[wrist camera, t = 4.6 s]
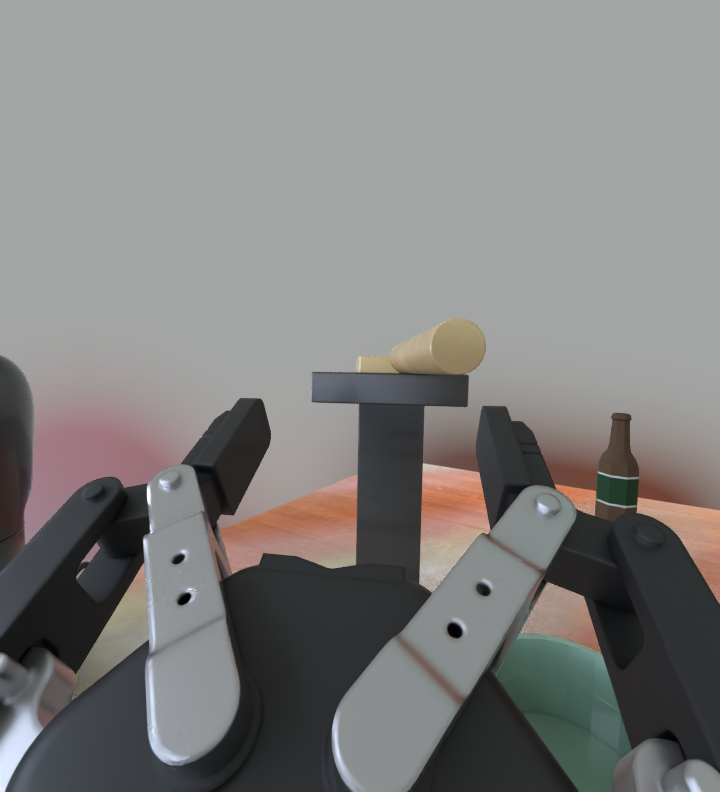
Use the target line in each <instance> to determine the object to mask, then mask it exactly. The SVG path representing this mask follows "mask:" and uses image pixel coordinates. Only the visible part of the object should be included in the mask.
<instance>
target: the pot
mask: <svg viewBox="0 0 720 792" xmlns="http://www.w3.org/2000/svg"><path fill="white" fill-rule="evenodd" d="M496 677H497V678H498V680H499V681H500V682H501V684H502V685H503V687H504V688H505V689H506V691H507V692H508V693H509V695H510V696H511V698H512V699H513V700H514V702H515V703H516V705H517V706H518V707H519V709H520V710H521V712H522V713H523V714H524V716H525V717H526V718H527V720H528V721H529V723H530V724H531V725H532V727H533V728H534V730H535V731H536V732H537V734H538V735H539V736H540V738H541V739H542V741H543V742H544V743H545V745H546V746H547V748H548V749H549V750H550V752H551V753H552V755H553V756H554V757H555V759H556V760H557V761H558V763H559V764H560V766H561V767H562V768H563V770H564V771H565V773H566V774H567V775H568V777H569V778H570V780H571V781H572V782H573V784H574V785H575V786H576V788H577V789H578V791H579V792H614V791H613V772H614V769H615V766H616V764H617V763H618V761H619V760H620V759H622V758H623V757H624V756H625V755H627V754H628V753H629V752H631V751H632V749H631V745H630V742H629V739H628V736H627V732H626V729H625V726H624V723H623V720H622V716H621V713H620V710H619V707H618V704H617V700H616V697H615V694H614V691H613V687H612V684H611V681H610V678H609V675H608V671H607V668H606V665H605V662H604V658H603V655H602V653H600V652H599V651H597V650H594V649H592V648H589V647H587V646H584V645H581V644H579V643H576V642H574V641H571V640H567V639H564V638H559V637H554V636H550V635H545V634H540V633H519V635H518V637H517V639H516V641H515V643H514V645H513V647H512V649H511V651H510V653H509V655H508V656H507V658H506V660H505V662H504V664H503V665H502V667H501V669H500V671H499V672H498V674H497V676H496Z"/></svg>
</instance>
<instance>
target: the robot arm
mask: <svg viewBox="0 0 720 792" xmlns="http://www.w3.org/2000/svg"><path fill="white" fill-rule="evenodd" d="M33 435H34V405H33V398H32V393H31V389H30V385H29V383H28V381H27V379H26V376H25V375H24V373H23V372H22V371H21V369H20V368H19V367H18V366H17V365H16V364H15V363H14V362H12V361H11V360H9V359H8V358H6V357H3V356H1V355H0V792H579V791H578V789H577V788H576V786H575V785H574V784H573V782H572V781H571V780H570V778H569V777H568V775H567V774H566V773H565V771H564V770H563V768H562V767H561V766H560V764H559V763H558V761H557V760H556V759H555V757H554V756H553V755H552V753H551V752H550V750H549V749H548V748H547V746H546V745H545V743H544V742H543V741H542V739H541V738H540V736H539V735H538V734H537V732H536V731H535V730H534V728H533V727H532V725H531V724H530V723H529V721H528V720H527V718H526V717H525V716H524V714H523V713H522V712H521V710H520V709H519V707H518V706H517V705H516V703H515V702H514V700H513V699H512V698H511V696H510V695H509V693H508V692H507V691H506V689H505V688H504V687H503V685H502V684H501V682H500V681H499V680H498V678H497V677H496V676H497V674H498V672H499V671H500V669H501V667H502V665H503V664H504V662H505V660H506V658H507V656H508V655H509V653H510V651H511V649H512V647H513V645H514V643H515V641H516V639H517V637H518V635H519V633H520V631H521V629H522V627H523V625H524V624H525V622H526V620H527V618H528V617H529V615H530V613H531V611H532V610H533V608H534V606H535V604H536V602H537V601H538V599H539V597H540V595H541V594H542V592H543V590H544V588H545V587H546V585H547V583H548V582H549V583H552V584H554V585H557V586H560V587H562V588H565V589H567V590H570V591H572V592H575V593H577V594H580V595H583V596H584V597H585V601H586V604H587V607H588V610H589V613H590V617H591V620H592V623H593V626H594V630H595V633H596V636H597V639H598V642H599V646H600V649H601V652H602V655H603V658H604V662H605V665H606V668H607V671H608V675H609V678H610V681H611V684H612V687H613V691H614V694H615V697H616V700H617V704H618V707H619V710H620V713H621V716H622V720H623V723H624V726H625V729H626V732H627V736H628V739H629V742H630V745H631V749H632V751H631V752H629V753H628V754H627V755H625V756H624V757H623V758H622V759H620V760H619V761H618V763H617V764H616V766H615V769H614V772H613V791H614V792H720V604H719V603H718V601H717V599H716V598H715V596H714V594H713V593H712V591H711V589H710V588H709V586H708V584H707V583H706V581H705V580H704V578H703V576H702V575H701V573H700V571H699V570H698V568H697V566H696V565H695V563H694V561H693V560H692V558H691V556H690V555H689V553H688V551H687V550H686V548H685V546H684V545H683V543H682V541H681V540H680V538H679V537H678V536H677V535H676V534H675V532H674V531H672V530H671V529H670V528H669V527H668V526H666V525H665V524H663V523H662V522H660V521H658V520H656V519H654V518H652V517H649V516H647V515H643V514H639V513H624V514H621V515H619V516H618V517H617V518H616V519H615V521H614V522H612V521H608V520H605V519H602V518H599V517H595V516H592V515H589V514H586V513H583V512H581V511H579V510H577V509H576V508H575V506H574V504H573V503H572V501H571V500H570V499H569V498H568V497H567V496H566V495H564V494H563V493H561V492H560V491H558V490H556V488H555V485H554V483H553V480H552V478H551V475H550V473H549V471H548V468H547V466H546V463H545V461H544V458H543V456H542V455H541V451H540V448H539V446H538V445H537V441H536V439H535V436H534V434H533V432H532V431H531V430H530V429H529V428H528V427H527V426H526V425H525V424H524V423H523V422H520V421H511V419H510V416H509V413H508V410H507V408H506V407H505V406H483V407H482V410H481V416H480V422H479V428H478V434H477V441H476V455H477V461H478V467H479V472H480V477H481V482H482V487H483V493H484V498H485V503H486V508H487V514H488V519H489V524H490V529H491V531H490V533H489V534H485V533H482V534H480V535H479V536H478V537H477V538H476V540H475V541H474V542H473V543H472V545H471V546H470V547H469V548H468V550H467V551H466V552H465V553H464V555H463V556H462V557H461V558H460V560H459V561H458V562H457V563H456V565H455V566H454V567H453V568H452V570H451V571H450V572H449V573H448V575H447V576H446V577H445V578H444V580H443V581H442V582H441V583H440V585H439V586H438V587H437V588H436V590H435V591H434V592H433V593H432V592H430V591H429V590H428V589H426V588H425V587H423V586H422V585H420V584H418V583H416V582H414V581H412V580H409V579H406V578H405V574H406V567H404V566H394V565H383V564H372V563H367V564H361V565H354V566H348V567H341V568H335V569H330V568H326V567H323V566H321V565H318V564H316V563H313V562H310V561H308V560H305V559H302V558H300V557H297V556H287V555H277V554H266V553H263V556H262V558H261V561H260V563H259V565H255V566H252V567H248V568H245V569H243V570H240V571H238V572H236V573H234V574H232V571H231V568H230V565H229V561H228V558H227V554H226V551H225V547H224V543H223V540H222V536H221V532H220V529H219V526H218V524H217V520H218V519H219V517H220V515H221V514H224V515H234V514H235V512H236V510H237V508H238V506H239V504H240V502H241V500H242V498H243V496H244V494H245V492H246V490H247V488H248V486H249V484H250V482H251V480H252V478H253V477H254V475H255V472H256V471H257V469H258V467H259V465H260V463H261V461H262V459H263V457H264V455H265V453H266V451H267V449H268V447H269V444H270V439H271V431H270V427H269V423H268V419H267V415H266V411H265V407H264V403H263V401H262V400H261V399H257V398H240V399H239V400H238V401H237V403H236V404H235V405H234V407H233V408H232V409H231V411H225V412H224V413H223V414H221V415H220V416H218V417H217V418H216V419H215V420H214V421H213V422H212V424H211V425H210V426H209V428H208V430H206V432H205V433H204V434H203V436H202V438H200V439H199V441H198V442H197V443H196V445H195V446H194V447H193V449H192V450H191V451H190V452H189V454H188V455H187V456H186V458H185V459H184V460H183V462H182V463H181V464H180V465H174V466H170V467H168V468H165V469H163V470H162V471H160V472H158V473H157V474H156V475H155V476H154V477H153V478H152V479H151V480H150V481H149V483H148V484H143V485H137V486H132V487H127V488H124V487H123V485H122V484H121V482H120V480H119V479H117V478H114V477H104V478H100V479H96V480H94V481H92V482H89V483H87V484H86V485H84V486H83V487H81V488H80V489H78V490H77V491H76V492H75V493H74V494H73V495H72V496H71V497H70V498H69V500H67V502H66V503H65V504H64V505H63V506H62V507H61V508H60V509H59V510H58V511H57V512H56V513H55V514H54V515H53V517H52V518H51V519H50V520H49V521H48V522H47V523H46V524H45V525H44V526H43V527H42V528H41V530H39V532H37V534H36V535H35V536H34V537H33V538H32V539H31V540H30V541H29V542H28V543H27V544H26V545H25V527H24V524H25V523H24V522H25V521H24V511H25V507H26V503H27V501H28V498H29V494H30V491H31V487H32V479H33V475H32V473H33V438H34V436H33ZM95 543H97V544H98V545H99V547H100V550H99V551H98V552H97V553H96V555H95V556H94V557H93V559H92V560H91V562H90V563H89V562H83V563H81V562H82V560H83V559H84V558H85V556H86V555H87V553H88V552H89V551H90V550H91V548H92V547H93V546H94V544H95ZM80 563H81V564H80ZM143 563H144V564H145V581H146V597H147V614H148V631H149V640H148V641H146V642H145V643H144V644H143V645H141V646H140V647H139V648H138V649H136V650H135V651H134V652H133V653H131V654H130V655H129V656H128V657H126V658H125V659H124V660H123V661H122V662H120V663H119V664H118V665H117V666H115V667H114V668H113V669H112V670H110V671H109V672H108V673H107V674H105V675H104V676H103V677H102V678H100V679H99V680H98V681H97V682H95V683H94V684H93V685H92V686H90V687H89V688H88V689H87V690H85V691H84V692H83V693H82V694H80V695H79V696H78V697H77V698H75V699H74V700H73V701H71V699H72V696H73V694H74V691H75V687H76V676H75V675H76V673H77V672H78V670H79V668H80V667H81V665H82V663H83V662H84V660H85V658H86V657H87V655H88V653H89V652H90V650H91V648H92V647H93V645H94V644H95V642H96V640H97V639H98V637H99V635H100V634H101V632H102V630H103V629H104V627H105V625H106V624H107V622H108V621H109V619H110V617H111V616H112V614H113V612H114V611H115V609H116V607H117V606H118V604H119V602H120V601H121V599H122V597H123V596H124V594H125V593H126V591H127V589H128V588H129V586H130V584H131V583H132V581H133V579H134V578H135V576H136V574H137V573H138V571H139V569H140V568H141V566H142V565H143ZM84 568H85V570H84V571H83V572H82V574H81V575H80V577H79V578H78V579H76V576H77V574H78V573H79V572H80V571H81V570H82V569H84Z"/></svg>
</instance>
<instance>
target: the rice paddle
mask: <svg viewBox="0 0 720 792" xmlns="http://www.w3.org/2000/svg"><path fill="white" fill-rule="evenodd" d="M485 349H486V342H485V338H484V335H483V333H482V331H481V330H480V328H479V327H478V326H477V325H476V324H475V323H473V322H472V321H470V320H467V319H463V318H453V319H450V320H447V321H445V322H443V323H441V324H439V325H437V326H435V327H433V328H431V329H429V330H427V331H425V332H423V333H421V334H419V335H417V336H415V337H413V338H410V339H409V340H407V341H404V342H403V343H400V344H398V345H397V346H395V347H394V348H393V349H392V351H391V353H390V356H389V357H387V356H385V357H384V356H360V357H359V358H358V359H357V368H356V372H357V373H403V374H438V375H463V374H466V373H469V372H471V371H472V370H474V369H475V368H476V367H477V366H478V365H479V364H480V363H481V361H482V359H483V357H484V354H485Z"/></svg>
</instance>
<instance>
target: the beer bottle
mask: <svg viewBox="0 0 720 792" xmlns="http://www.w3.org/2000/svg"><path fill="white" fill-rule="evenodd" d="M611 418H612V419H613V421H612V428H611V435H610V442H609V446H608V449H607V450H606V451H605V452H604V453H603V454H602V456H601V458H600V460H599V464H598V473H597V489H596V505H595V515H596V517H599V518H602V519H605V520H608V521H612V522H614V521H615V519H616V518H617V517H618V516H619V515H621V514H624V513H636V512H637V498H638V484H639V468H638V465H637V462H636V459H635V458H634V456H633V455H632V453H631V450H630V420H631V415H629V414H625V413H613V414H612V416H611Z"/></svg>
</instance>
